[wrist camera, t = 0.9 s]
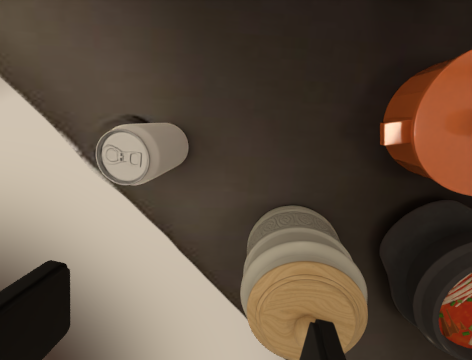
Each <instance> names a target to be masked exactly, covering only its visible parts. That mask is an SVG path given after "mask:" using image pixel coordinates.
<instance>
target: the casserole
mask: <svg viewBox="0 0 472 360" xmlns="http://www.w3.org/2000/svg"><path fill="white" fill-rule="evenodd" d="M379 255H380V258H381V260H382V263H383V265H384V268H385V270H386V273H387V275H388V280H389V286H390V292H391V298H392V300H393V302H394V304H395V306H396V308H397V310H398V311H399V312H400V313H401V315H402V316H403V317H404V318H405V319H406V320H407V321H409V322H410V323H411V324H412V325H414V326H416V327H417V328H419V330H420V331H421V333H422V334H423V335H424V337H425V338H426V339H427V340H428V341H429V342H430V343H431V344H433V345H434V346H435V347H436V348H438V349H440V350H442V351H444V352H445V353H447V354H450V355H452V356H454V357H455V358H457V359H459V360H472V209H471V208H469V207H467V206H466V205H464V204H462V203H460V202H458V201H453V200H440V201H436V202H431V203H428V204H426V205H423V206H421V207H418V208H416V209H415V210H413V211H411V212H410V213H408V214H406V215H405V216H403V217H402V218H401V219H400V220H399V221H398V222H396V223H395V224H394V225H393V226H392V227H391V229H390V230H389V231H388V232H387V233H386V235H385V236H384V238H383V240H382V242H381V244H380V251H379Z"/></svg>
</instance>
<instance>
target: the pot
mask: <svg viewBox="0 0 472 360" xmlns="http://www.w3.org/2000/svg"><path fill="white" fill-rule="evenodd" d="M454 59H455V58H454ZM454 59H451V60H448V61H445V62H442V63H439V64H436V65H433V66H431V67H429V68H427V69H425V70H423V71H421V72H419V73H417V74H416V75H414V76H412V77H411V78H410V79H409V80H407V81H406V82H405V83H404V84H403V85H402V86H401V87H400V88H399V89H398V90H397V92H396V93H395V94H394V96H393V97H392V99H391V100H390V102H389V104H388V106H387V109H386V112H385V115H384V120H383V123H380V145H383V146H386V148H387V150H388V151H389V153H390V155H391V156H392V157H393V159H394V160H395V161H396V162H397V163H398V164H400V165H401V166H403V167H404V168H406V169H407V170H408V171H410V172H413V173H416V174H419V175H422V176H424V177H427V178H430V177H429V176H427V175H426V174H425V172H424V171H423V170H422V168H421V167H420V165H419V164H418V162H417V160H416V158H415V155H414V152H413V148H412V143H411V123H412V118H413V114H414V111H415V108H416V105H417V103H418V101H419V99H420V97H421V95H422V93H423V91H424V90H425V88H426V87H427V85H428V84H429V83H430V81H431V80H432V79H433V78H434V77H435V76H436V74H437V73H438V72H440V71H441V70H442V69H443V68H444V67H445V66H446V65H447V64H449V63H450V62H451V61H452V60H454ZM430 179H431V178H430Z"/></svg>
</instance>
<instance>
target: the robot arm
mask: <svg viewBox="0 0 472 360" xmlns="http://www.w3.org/2000/svg"><path fill="white" fill-rule="evenodd" d="M69 327H70V270H69V269H68V268H67V265H66V264H65V263H61V262H56V261H52V260H50V261H47V262H45V263H44V264H42V265H41V266H39V267H37V268H36V269H34V270H33V271H31V272H30V273H28V274H27V275H25V276H23V277H22V278H20V279H19V280H17V281H16V282H14V283H13V284H11V285H9V286H8V287H6V288H5V289H3V290H2V291H0V360H42V359H43V358H44V357H45V356H46V355H47V354H48V353H49V352H50V351H51V349H52V348H53V347H54V346H55V345H56V344H57V343H58V342H59V341H60V340H61V339H62V338H63V337H64V336H65V334H66V333H67V331H68V330H69ZM299 360H346V358H345V355H344V352H343V349H342V346H341V343H340V340H339V337H338V334H337V331H336V328H335V325H334V323H333V322H330V321H325V320H321V319H316V320H315V323H314V322H310V324H309V327H308V331H307V334H306V338H305V341H304V345H303V349H302V352H301V356H300V359H299Z"/></svg>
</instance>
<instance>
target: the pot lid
mask: <svg viewBox="0 0 472 360" xmlns="http://www.w3.org/2000/svg"><path fill="white" fill-rule="evenodd" d="M411 143H412V148H413V152H414V155H415V158H416V160H417V162H418V164H419V165H420V167H421V168H422V170H423V171H424V172H425V174H426V175H427V176H429V177H430V178H431V179H432V180H433V181H434V182H436V183H437V184H439V185H440V186H442V187H444V188H446V189H448V190H451V191H454V192H457V193H460V194H464V195H469V196H472V49H471V50H469V51H467V52H465V53H463V54H462V55H460V56H458V57H457V58H455V59H454V60H452V61H451V62H450V63H449V64H447V65H446V66H445V67H444V68H443V69H442V70H441V71H440V72H438V73H437V74H436V76H435V77H434V78H433V79H432V80H431V81H430V83H429V84H428V85H427V87H426V88H425V90H424V91H423V93H422V95H421V97H420V99H419V101H418V103H417V105H416V108H415V111H414V114H413V118H412V123H411Z"/></svg>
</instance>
